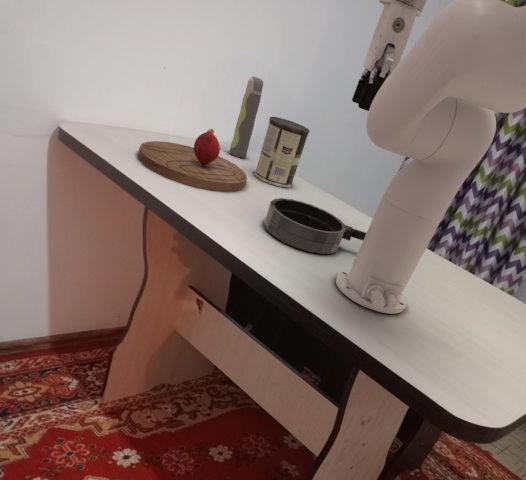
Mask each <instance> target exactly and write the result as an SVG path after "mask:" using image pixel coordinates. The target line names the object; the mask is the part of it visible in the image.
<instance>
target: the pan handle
mask: <svg viewBox="0 0 526 480" xmlns="http://www.w3.org/2000/svg"><path fill="white" fill-rule="evenodd" d="M344 227H345V229H347V230H346V232H345V234H344V237H343V239H342V240H346V241H349V242H350V241H351V240H352V238H353V239H357V240H360V241H363V240H364V238H365V235H366V233H367V232H365V231H362V230H358V229H356V228H353V227H352V226H349V225H346V224H345V225H344Z"/></svg>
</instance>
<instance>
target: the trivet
mask: <svg viewBox="0 0 526 480" xmlns="http://www.w3.org/2000/svg"><path fill="white" fill-rule="evenodd" d="M137 157H138V158H139V161H140V163H142V164H143V165H144V166H145V167H146V168H148V169H150V170H151V171H153V172H154V173H156V174H159V175H161V176H162V177H165V178H167V179H170V180H172V181H175V182H178V183H181V184H183V185H187V186H191V187H194V188H197V189H203V190H208V191H213V192H223V193H230V192H238V191H241V190H243V189H245V188H246V184H247V181H248V176H247V173H246V172H245V171H244V170H243V169H242V168H241V167H240V166H238V165H237V164H235V163H233V162H231V161H230V160H228V159H226V158H224V157H221V156H219V155H218V157H217V158H216V160H214V161H213V162H211V163H209V164H207V165H202V164H201V163H200V162H199V161H198V159H197V158H196V156H195V153H194V146H190V145H186V144H180V143H175V142H169V141H159V140H153V141H152V140H151V141H146V142H143V143H141V144H140V146H139V148H138V156H137Z"/></svg>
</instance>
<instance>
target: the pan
mask: <svg viewBox="0 0 526 480" xmlns="http://www.w3.org/2000/svg"><path fill="white" fill-rule="evenodd" d="M344 225H346V224H345V223H344V222H343V221H342V220H341V219H340V218H338V217H337V216H335V215H334V214H332V213H331V212H328V211H327V210H326V209H323V208H321V207H318V206H316V205H313V204H310V203H309V202H308V203H307V202H305V201H302V200H297V199H292V198H283V197H281V198H274V199H272V200H271V201H270V202H269V206H268V209H267V212H266V216H265V220H264V224H263V226H264V227H265V229H266V231H267V232H269V234H271V235H272V236H273V237H274V238H276V239H277V240H279V241H281V242H282V243H284V244H286V245H288V246H290V247H293V248H294V249H298V250H301V251H304V252H308V253H312V254H323V255H325V254H326V255H330V254H334V253H336V252H338V251H339V249H340V246H341V243H342V241H343V240H344V239H343V237H344V234H345V232H346V230H347V229H345V227H344Z"/></svg>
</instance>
